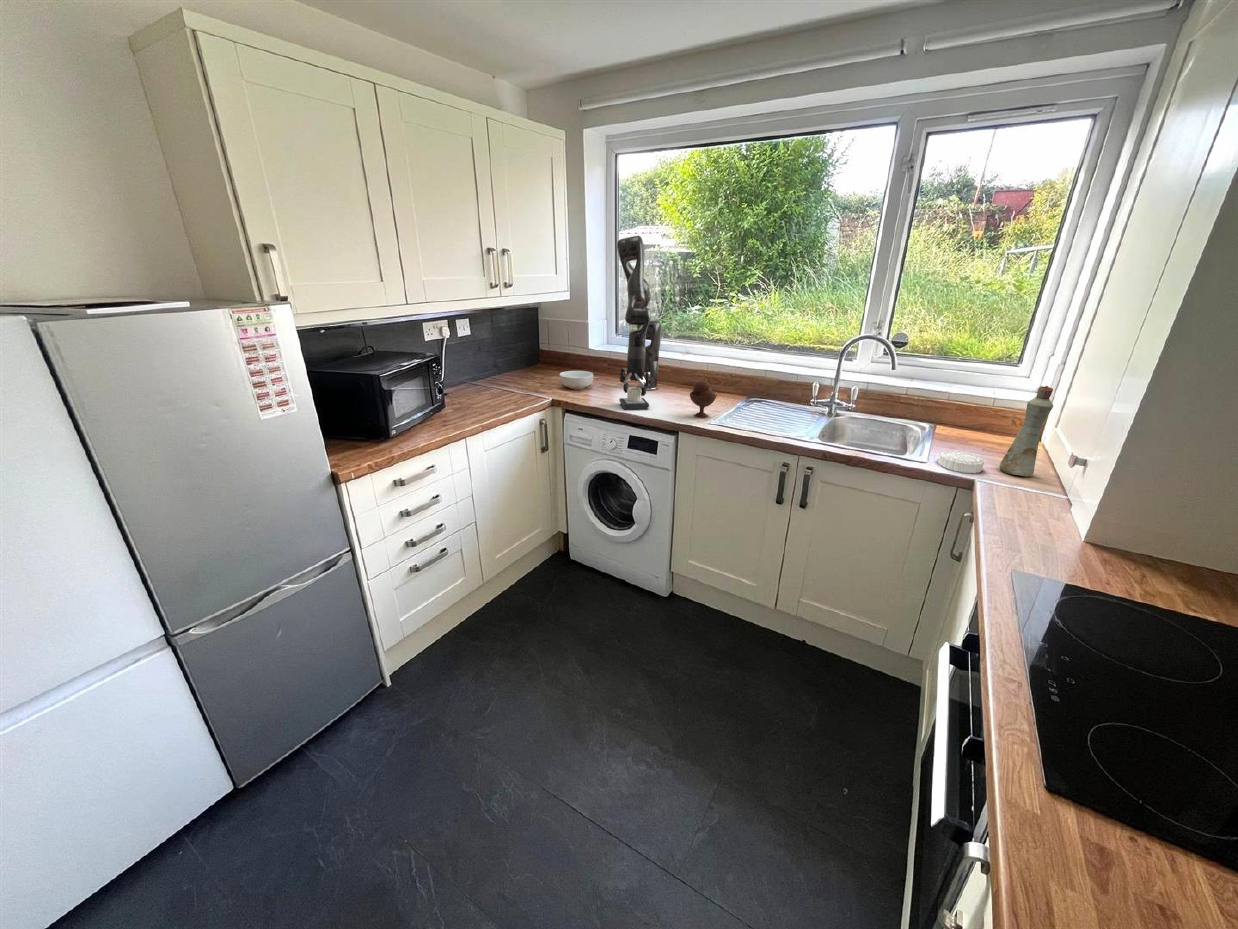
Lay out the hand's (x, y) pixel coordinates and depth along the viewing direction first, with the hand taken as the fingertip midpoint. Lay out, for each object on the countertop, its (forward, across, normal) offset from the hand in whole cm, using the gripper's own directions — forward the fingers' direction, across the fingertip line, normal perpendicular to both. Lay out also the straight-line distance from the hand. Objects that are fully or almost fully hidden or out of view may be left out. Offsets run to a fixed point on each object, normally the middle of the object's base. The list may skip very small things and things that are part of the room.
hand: (634, 394), depth 216 cm
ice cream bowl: (+6, +30, +5) cm, 31 cm away
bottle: (+6, +136, +11) cm, 136 cm away
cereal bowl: (+6, -42, +12) cm, 44 cm away
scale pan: (+4, 0, 0) cm, 4 cm away
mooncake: (+6, +121, +6) cm, 121 cm away
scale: (+6, 0, 0) cm, 6 cm away
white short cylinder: (+3, 0, 0) cm, 3 cm away
